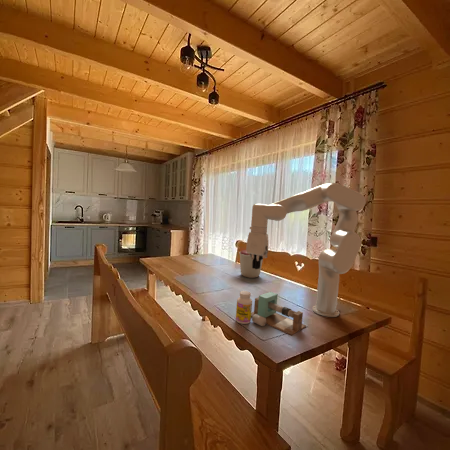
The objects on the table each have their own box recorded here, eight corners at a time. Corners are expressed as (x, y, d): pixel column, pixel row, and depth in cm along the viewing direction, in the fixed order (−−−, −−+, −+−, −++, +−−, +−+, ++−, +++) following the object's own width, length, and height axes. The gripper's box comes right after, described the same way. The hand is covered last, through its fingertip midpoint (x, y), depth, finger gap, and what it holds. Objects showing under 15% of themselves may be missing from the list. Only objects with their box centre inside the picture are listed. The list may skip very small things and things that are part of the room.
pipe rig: (263, 308, 128) (264, 293, 128) (305, 326, 112) (307, 309, 112) (247, 315, 120) (248, 299, 119) (291, 335, 104) (293, 317, 103)
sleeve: (255, 322, 115) (258, 314, 115) (265, 326, 111) (267, 318, 112) (251, 322, 112) (253, 313, 113) (260, 326, 109) (262, 317, 109)
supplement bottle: (233, 322, 112) (235, 293, 111) (238, 316, 118) (240, 289, 117) (248, 325, 110) (250, 296, 108) (252, 319, 116) (254, 291, 115)
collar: (269, 309, 124) (270, 291, 123) (276, 312, 121) (277, 294, 120) (257, 314, 118) (258, 295, 117) (264, 317, 115) (266, 298, 114)
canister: (256, 272, 197) (258, 244, 195) (267, 279, 180) (269, 249, 178) (233, 272, 191) (235, 244, 190) (243, 280, 174) (245, 249, 173)
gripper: (241, 228, 125) (238, 266, 126) (267, 232, 114) (264, 273, 115) (251, 228, 130) (248, 264, 132) (277, 232, 119) (273, 271, 121)
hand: (256, 268), depth 123 cm, fingers closed
